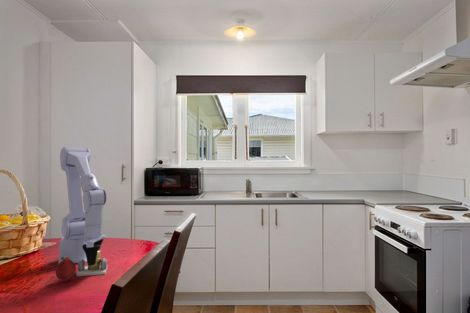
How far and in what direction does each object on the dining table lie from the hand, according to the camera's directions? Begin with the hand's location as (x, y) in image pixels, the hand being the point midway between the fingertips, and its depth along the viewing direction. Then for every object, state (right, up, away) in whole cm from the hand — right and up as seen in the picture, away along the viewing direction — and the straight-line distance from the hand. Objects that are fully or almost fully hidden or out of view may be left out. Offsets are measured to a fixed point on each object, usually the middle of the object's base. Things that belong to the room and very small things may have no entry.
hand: (92, 262), depth 111 cm
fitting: (0, -3, 0) cm, 3 cm away
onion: (-5, -3, -9) cm, 11 cm away
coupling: (0, -2, 0) cm, 2 cm away
